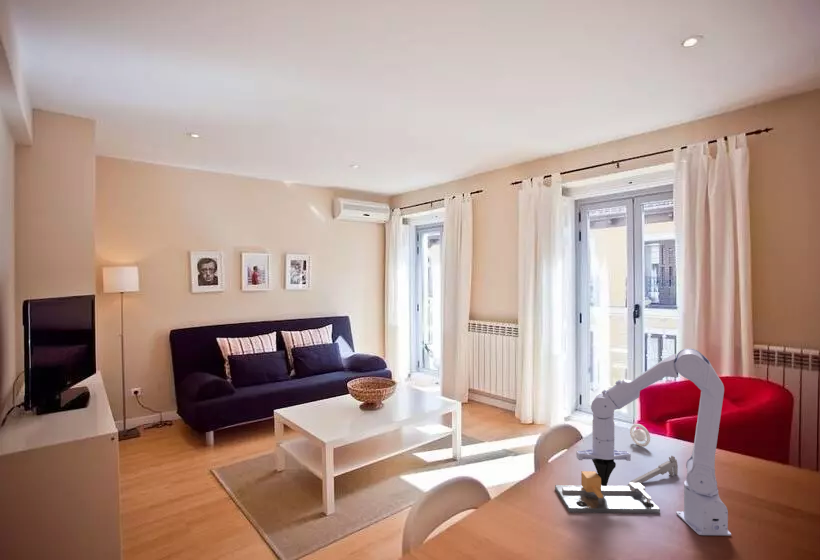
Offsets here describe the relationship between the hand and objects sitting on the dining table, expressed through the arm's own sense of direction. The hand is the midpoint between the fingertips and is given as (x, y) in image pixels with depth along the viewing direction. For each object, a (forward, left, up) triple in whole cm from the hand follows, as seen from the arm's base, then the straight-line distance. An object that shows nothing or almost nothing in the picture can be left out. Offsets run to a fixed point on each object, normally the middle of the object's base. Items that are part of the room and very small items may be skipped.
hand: (603, 484), depth 120 cm
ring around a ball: (+35, -28, -4) cm, 45 cm away
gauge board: (-2, 0, -4) cm, 4 cm away
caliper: (+10, -20, -4) cm, 22 cm away
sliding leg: (-2, +3, -2) cm, 5 cm away
